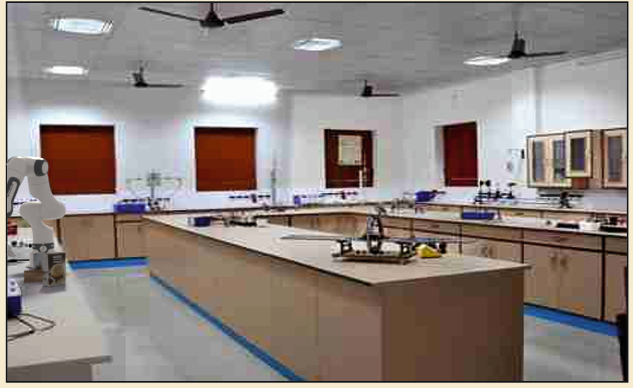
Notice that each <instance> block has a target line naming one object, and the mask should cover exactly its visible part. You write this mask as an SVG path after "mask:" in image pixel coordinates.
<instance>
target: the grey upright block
mask: <svg viewBox="0 0 633 388" xmlns="http://www.w3.org/2000/svg"><path fill="white" fill-rule="evenodd" d="M43 253H44V252H38V253H33V267H32V270H43Z"/></svg>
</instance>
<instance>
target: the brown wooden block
mask: <svg viewBox="0 0 633 388" xmlns="http://www.w3.org/2000/svg"><path fill="white" fill-rule="evenodd" d="M23 282H24V283H25V284H26V283H38V282H43V270H33V269H31V270H30V269H29V270H28V269H26V270H23Z"/></svg>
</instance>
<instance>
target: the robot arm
mask: <svg viewBox="0 0 633 388" xmlns="http://www.w3.org/2000/svg"><path fill="white" fill-rule="evenodd" d="M6 165H7V219H9V218H11V216H12V215H13V213H14V202H15V199H16V197H17V194H18V192H19V189H20V187H21V185H22V183H23V181H24V179H25V177H27V184H28V190H29V194H30V196H31V197H33V198H34V199H36V200H37V201H35V200H34V201H33V200H31V201H25V202H23V203H22V204H21V205H20V206H19V210H18V213H19V215H20V217H21V218H22V219H24V220H25V221H26V222H27V223H28V224H29V225H30V228H31V231H32V232H31V233H32V244H31V247H32V250H31V252H29V256H28V257H29V260H28V262H29V263H28V264H26V265H25V267H26V268H33V253H38V252H44V253H54V252H57V251H56V250H55V243H54V230H53V228H52V227H50V226H48V225H47V224H45V223H44V220H46V221H47V220H49V221H50V220H59V219H62V218H64V216H65V215H66V212H67V211H66V209H67V208H66V206H65V204H64V203H63V202H62V201H60V200H58V199H57V198H56V197H55V196H54V195H53V193H52V190H51V187H50V186H51V185H50V181H49V176H48V172H49V163H48V161H47V160H46V159H45V158H42V157H35V156H17V155H16V156H12V157H10V158H8V160H7V162H6ZM11 246H12V245H10V244H9V243H7V254H6V255H8V256H9V257H10V258H16V256H17V255H16V254H15V253H14V252H13V251H12V247H11Z"/></svg>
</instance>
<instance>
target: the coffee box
mask: <svg viewBox="0 0 633 388" xmlns="http://www.w3.org/2000/svg"><path fill="white" fill-rule="evenodd" d="M66 255H67V254H66V252H62V251H56V252H54V253H43V281H42V286H45V287H48V288H50V287H57V286H65V285H66V284H67V281H66V280H67V279H66V278H67V274H66V272H67V270H66V265H67V264H66V259H67V258H66Z"/></svg>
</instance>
